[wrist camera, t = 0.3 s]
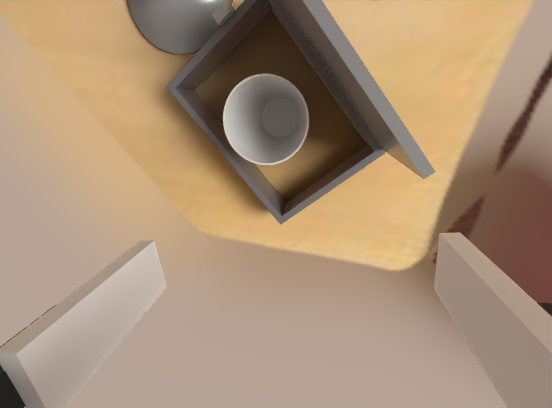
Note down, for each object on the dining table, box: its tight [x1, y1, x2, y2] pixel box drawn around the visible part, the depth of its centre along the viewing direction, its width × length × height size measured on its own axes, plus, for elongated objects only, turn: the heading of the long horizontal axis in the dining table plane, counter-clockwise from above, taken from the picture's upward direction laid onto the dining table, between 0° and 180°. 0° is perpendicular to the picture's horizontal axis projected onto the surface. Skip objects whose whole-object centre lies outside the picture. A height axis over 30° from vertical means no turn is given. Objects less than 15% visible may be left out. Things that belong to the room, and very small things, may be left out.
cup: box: [223, 74, 309, 165], centre depth 30 cm, size 8×8×10 cm
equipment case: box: [166, 0, 435, 224], centre depth 26 cm, size 22×16×17 cm
